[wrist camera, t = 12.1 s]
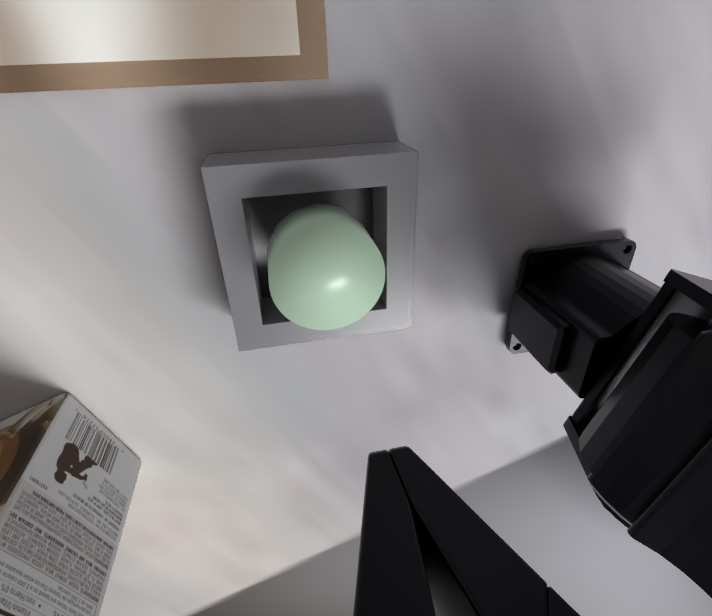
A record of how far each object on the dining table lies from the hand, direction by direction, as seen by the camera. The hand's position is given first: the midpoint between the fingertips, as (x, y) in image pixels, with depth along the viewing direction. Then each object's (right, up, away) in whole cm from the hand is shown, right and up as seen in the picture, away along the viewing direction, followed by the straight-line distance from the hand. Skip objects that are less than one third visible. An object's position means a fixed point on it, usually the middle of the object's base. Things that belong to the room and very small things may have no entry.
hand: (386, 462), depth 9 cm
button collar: (-3, +6, +11) cm, 13 cm away
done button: (-2, +5, +9) cm, 11 cm away
